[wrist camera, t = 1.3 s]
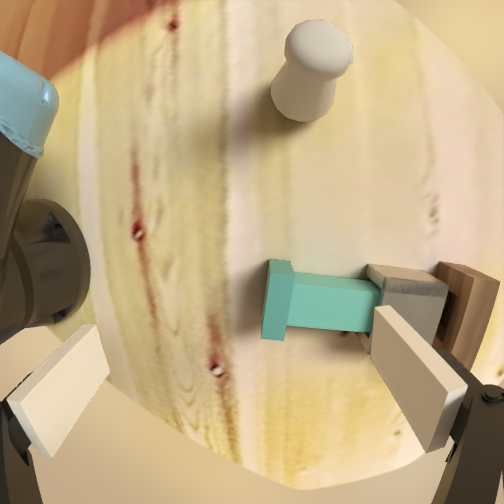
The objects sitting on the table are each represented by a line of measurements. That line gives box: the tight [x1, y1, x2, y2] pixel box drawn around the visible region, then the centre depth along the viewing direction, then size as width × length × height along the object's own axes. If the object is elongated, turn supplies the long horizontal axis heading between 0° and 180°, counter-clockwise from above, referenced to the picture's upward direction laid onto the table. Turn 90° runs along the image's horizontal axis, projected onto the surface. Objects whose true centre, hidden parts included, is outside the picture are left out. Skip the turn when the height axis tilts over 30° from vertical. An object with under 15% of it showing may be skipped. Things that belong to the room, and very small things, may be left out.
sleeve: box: [354, 264, 449, 354], centre depth 28 cm, size 7×7×6 cm
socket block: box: [431, 262, 500, 371], centre depth 28 cm, size 4×10×7 cm, turn 173°
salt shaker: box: [271, 20, 353, 122], centre depth 21 cm, size 6×6×13 cm
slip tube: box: [261, 259, 381, 341], centre depth 28 cm, size 14×6×5 cm, turn 83°
